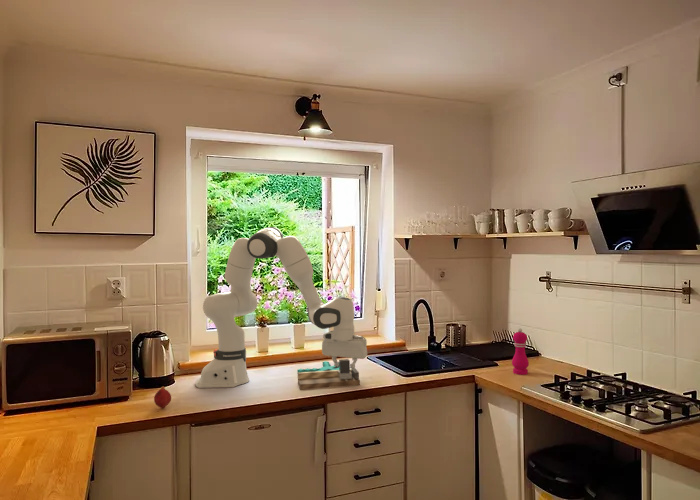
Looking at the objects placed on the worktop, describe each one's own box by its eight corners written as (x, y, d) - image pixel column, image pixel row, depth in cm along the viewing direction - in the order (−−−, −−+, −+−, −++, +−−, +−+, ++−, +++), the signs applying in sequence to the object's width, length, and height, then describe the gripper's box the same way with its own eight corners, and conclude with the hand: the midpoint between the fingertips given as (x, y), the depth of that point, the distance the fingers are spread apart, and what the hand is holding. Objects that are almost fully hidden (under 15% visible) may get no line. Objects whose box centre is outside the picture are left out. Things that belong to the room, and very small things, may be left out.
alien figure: (297, 374, 237) (331, 381, 225) (297, 369, 237) (331, 376, 225) (325, 365, 253) (358, 371, 241) (325, 361, 253) (358, 366, 241)
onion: (161, 412, 186) (160, 389, 186) (151, 409, 189) (150, 387, 189) (174, 407, 191) (174, 385, 191) (164, 405, 194) (163, 383, 194)
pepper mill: (511, 374, 230) (510, 329, 229) (512, 370, 236) (512, 326, 236) (528, 375, 227) (528, 330, 227) (529, 371, 234) (529, 327, 233)
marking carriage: (340, 379, 217) (339, 362, 217) (337, 376, 223) (337, 358, 223) (353, 378, 218) (352, 361, 218) (350, 375, 224) (350, 358, 224)
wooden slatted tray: (300, 389, 212) (299, 377, 212) (297, 382, 222) (297, 371, 222) (360, 385, 217) (359, 373, 216) (355, 378, 226) (354, 367, 226)
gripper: (369, 335, 218) (370, 367, 219) (327, 332, 227) (327, 363, 228) (363, 337, 213) (363, 371, 213) (319, 334, 222) (320, 366, 222)
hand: (344, 367), depth 220 cm, fingers open, 6 cm apart
